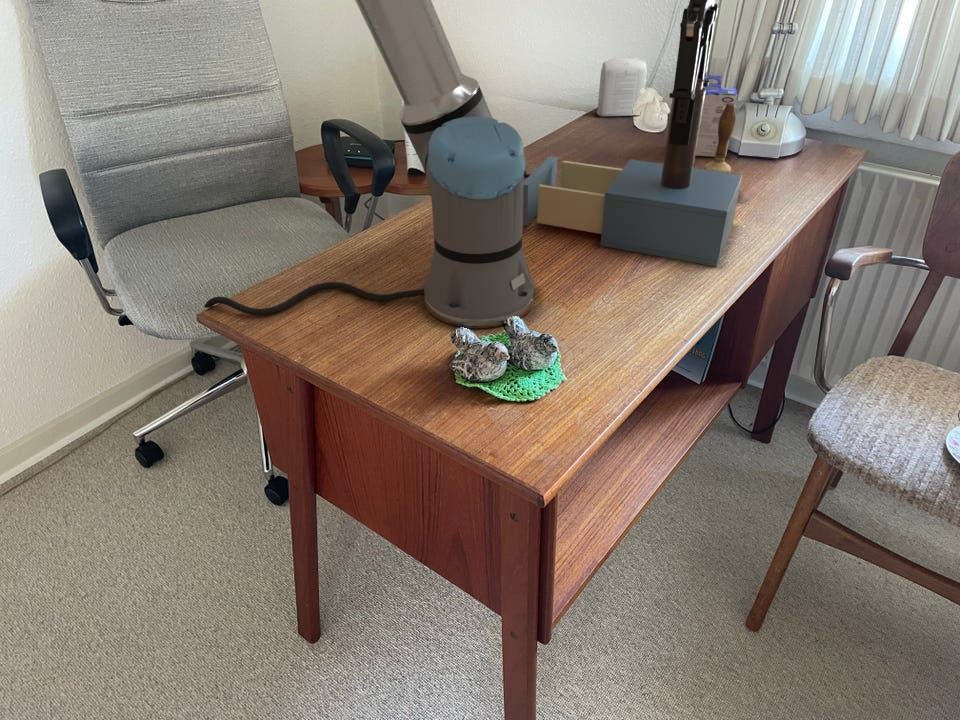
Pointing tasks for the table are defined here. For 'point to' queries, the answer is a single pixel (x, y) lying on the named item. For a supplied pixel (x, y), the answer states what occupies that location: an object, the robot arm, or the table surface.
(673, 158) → the pepper mill
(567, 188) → the drawer
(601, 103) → the white tall block
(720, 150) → the hand bell
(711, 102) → the ink cartridge box
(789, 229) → the table surface
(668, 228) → the cabinet
